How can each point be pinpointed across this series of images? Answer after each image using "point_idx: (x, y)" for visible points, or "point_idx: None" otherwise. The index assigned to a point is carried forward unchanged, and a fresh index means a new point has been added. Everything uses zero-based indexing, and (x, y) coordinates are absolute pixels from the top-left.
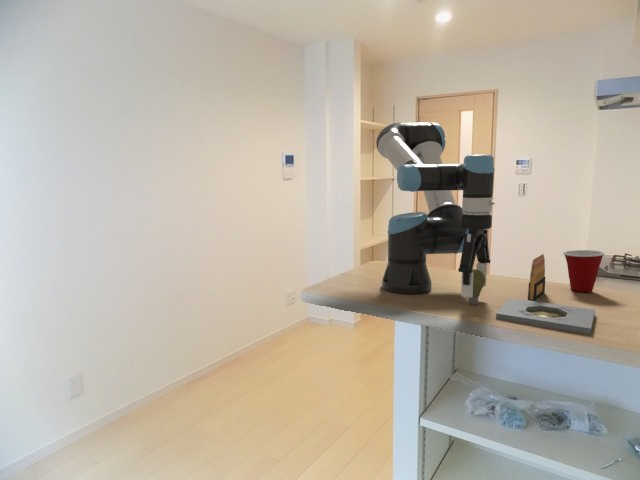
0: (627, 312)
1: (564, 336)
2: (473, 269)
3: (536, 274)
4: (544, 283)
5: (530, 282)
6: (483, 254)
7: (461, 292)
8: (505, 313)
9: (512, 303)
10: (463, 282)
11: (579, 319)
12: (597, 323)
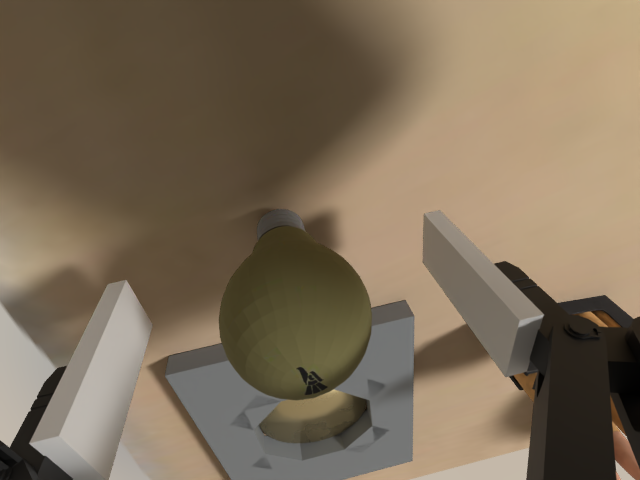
0: (468, 458)
1: (190, 475)
2: (308, 374)
3: None
4: None
5: (527, 378)
6: (530, 475)
7: (99, 301)
8: (192, 389)
9: None
10: (44, 389)
11: (300, 477)
12: None
